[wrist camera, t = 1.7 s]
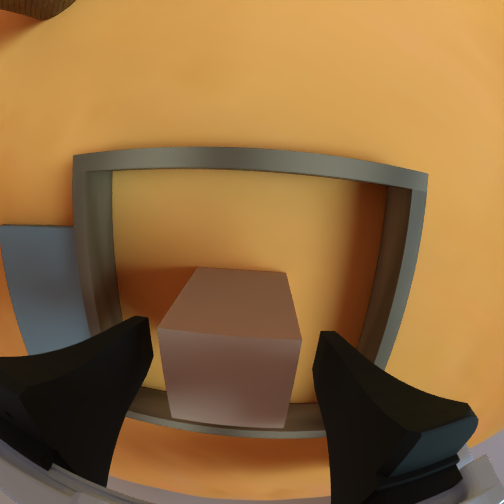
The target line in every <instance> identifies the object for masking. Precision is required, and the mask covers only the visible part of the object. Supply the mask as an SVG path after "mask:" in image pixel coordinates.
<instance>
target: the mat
mask: <svg viewBox="0 0 504 504" xmlns="http://www.w3.org/2000/svg"><path fill="white" fill-rule="evenodd" d="M0 245H1V252H2V259H3V265H4V270H5V275H6V280H7V285H8V289H9V293H10V297H11V301H12V305H13V309H14V312H15V316H16V319H17V322H18V326H19V329H20V332H21V335H22V338H23V341H24V343H25V346H26V349H27V351H28V354H29V355H36V354H42V353H46V352H50V351H55V350H59V349H62V348H65V347H68V346H71V345H74V344H77V343H79V342H82V341H84V340H86V339H88V338H90V337H91V335H90V331H89V327H88V323H87V318H86V313H85V308H84V303H83V298H82V292H81V286H80V280H79V273H78V266H77V258H76V248H75V238H74V226H54V225H5V224H4V225H0Z"/></svg>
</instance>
